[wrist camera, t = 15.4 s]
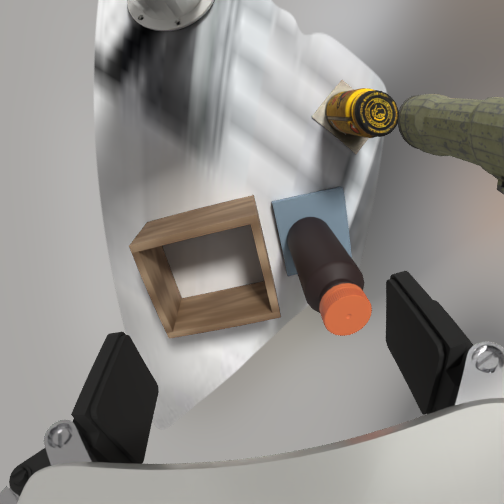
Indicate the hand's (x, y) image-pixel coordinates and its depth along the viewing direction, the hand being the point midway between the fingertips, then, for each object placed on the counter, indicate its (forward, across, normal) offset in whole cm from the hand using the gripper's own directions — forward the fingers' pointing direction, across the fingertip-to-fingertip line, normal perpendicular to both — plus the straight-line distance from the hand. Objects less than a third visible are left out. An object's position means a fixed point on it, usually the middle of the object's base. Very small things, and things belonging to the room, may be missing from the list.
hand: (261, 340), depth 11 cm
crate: (+36, +8, +12) cm, 39 cm away
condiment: (+37, -16, -4) cm, 40 cm away
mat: (+36, -8, +12) cm, 39 cm away
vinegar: (+36, -7, +12) cm, 38 cm away
